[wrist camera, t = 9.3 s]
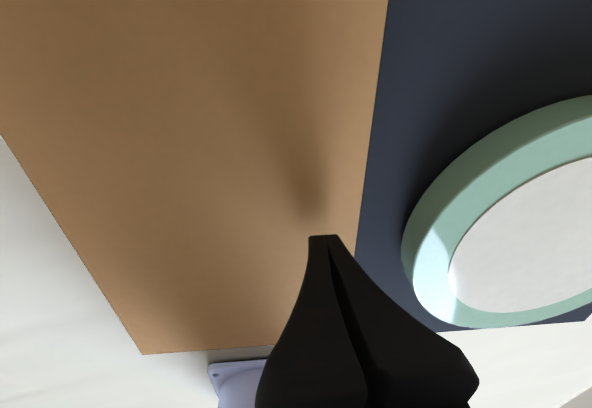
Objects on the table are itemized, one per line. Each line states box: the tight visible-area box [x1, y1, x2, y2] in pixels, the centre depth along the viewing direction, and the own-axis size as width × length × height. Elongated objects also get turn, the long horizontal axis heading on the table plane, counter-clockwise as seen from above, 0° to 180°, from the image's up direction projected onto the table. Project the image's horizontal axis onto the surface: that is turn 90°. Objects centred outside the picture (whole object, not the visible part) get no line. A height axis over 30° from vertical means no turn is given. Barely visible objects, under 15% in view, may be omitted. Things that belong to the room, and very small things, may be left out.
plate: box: [401, 95, 592, 329], centre depth 14 cm, size 13×13×2 cm
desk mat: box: [0, 0, 592, 355], centre depth 14 cm, size 20×32×1 cm, turn 91°
